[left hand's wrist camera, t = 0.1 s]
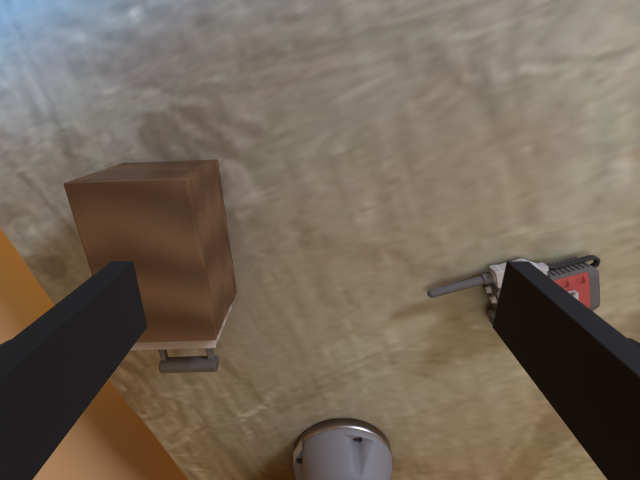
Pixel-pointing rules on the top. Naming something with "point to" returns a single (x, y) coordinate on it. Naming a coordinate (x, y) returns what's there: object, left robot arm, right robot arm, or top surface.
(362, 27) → the top surface
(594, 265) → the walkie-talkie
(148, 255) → the cabinet
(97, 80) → the top surface
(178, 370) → the drawer
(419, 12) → the top surface
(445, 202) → the top surface
